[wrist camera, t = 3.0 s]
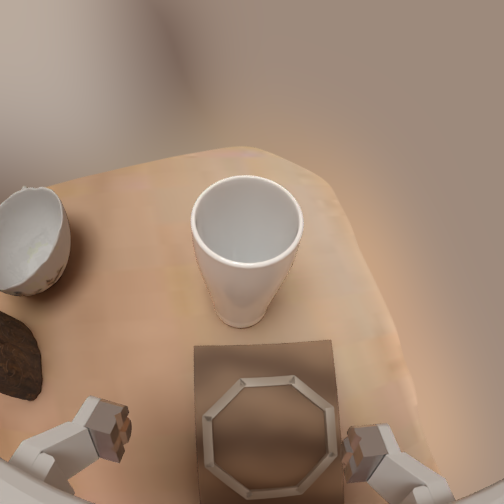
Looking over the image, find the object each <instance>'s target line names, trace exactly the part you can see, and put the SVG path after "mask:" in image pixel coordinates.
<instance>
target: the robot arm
mask: <svg viewBox="0 0 504 504" xmlns="http://www.w3.org/2000/svg"><path fill="white" fill-rule="evenodd" d="M128 413H129V411H128V407H127V406H125V405H122V404H118V403H115V402H111V401H108V400H105V399H101V398H98V397H94V396H91V395H90V396H89V397H87V399H86V400H85V402H84V403H83V405H82V406H81V408H80V410H79V411H78V413H77V414H76V416H75V418H74V419H73V421H72V422H69V421H68V422H66V423H63V424H61V425H59V426H57V427H54V428H52V429H50V430H48V431H45V432H43V433H40V434H38V435H36V436H33V437H31V438H29V439H26V440H24V441H22V442H21V444H20V445H19V447H18V448H17V450H16V451H15V453H14V454H13V456H12V457H11V459H10V460H9V462H7V461H5V460H4V459H2V458H0V504H95V503H92V502H89V501H87V500H84V499H82V498H79V497H77V496H74V494H75V492H74V489H73V488H72V486H71V485H70V483H69V482H68V479H69V478H71V477H72V476H74V475H76V474H77V473H79V472H80V471H82V470H83V469H85V468H86V467H87V466H89V465H90V464H92V463H93V462H95V461H96V460H98V459H99V457H100V458H103V459H106V460H110V461H113V462H117V463H120V461H121V459H122V456H123V454H124V451H125V450H124V446H123V445H124V444H126V443H128V441H129V439H130V436H131V430H132V426H131V420H130V419H129V418H128V417H127V416H128ZM347 435H348V437H347V438H345V439H344V440H343V442H342V444H341V448H340V458H341V462H342V463H344V464H345V465H346V467H345V469H344V474H345V478H346V482H347V483H355V482H365V481H367V483H368V484H369V485H370V486H371V487H372V488H373V489H374V490H375V491H376V492H377V493H379V494H380V495H381V496H382V497H383V498H384V499H385V500H386V501H387V502H388V503H389V504H504V479H502V480H500V481H498V482H496V483H494V484H493V485H490V486H488V487H486V488H484V489H482V490H479V491H477V492H475V493H473V494H470V495H468V496H466V497H463V498H461V499H458V500H455V498H454V496H453V494H452V492H451V490H450V488H449V485H448V483H447V481H446V480H445V478H444V477H442V476H440V475H439V474H437V473H436V472H434V471H433V470H431V469H429V468H428V467H426V466H425V465H423V464H422V463H420V462H419V461H417V460H416V459H414V458H413V457H411V456H410V455H408V454H407V453H405V452H401V451H400V448H399V446H398V444H397V442H396V439H395V437H394V435H393V433H392V431H391V428H390V426H389V425H388V424H387V423H385V424H375V425H374V424H373V425H362V426H351V427H350V428H349V429H348V431H347Z"/></svg>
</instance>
